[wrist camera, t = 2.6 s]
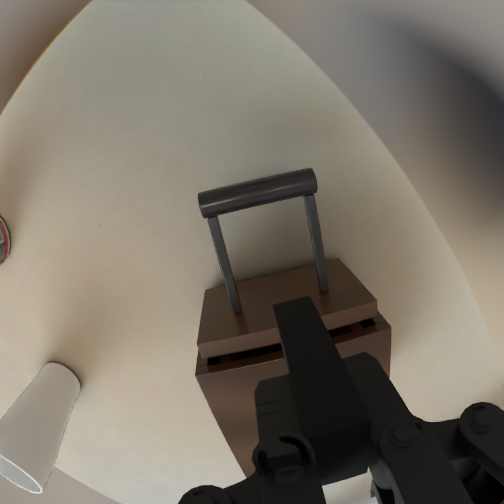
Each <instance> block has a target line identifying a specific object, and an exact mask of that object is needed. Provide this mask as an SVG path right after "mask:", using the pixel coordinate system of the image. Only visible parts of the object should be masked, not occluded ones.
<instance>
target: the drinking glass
mask: <svg viewBox="0 0 504 504" xmlns="http://www.w3.org/2000/svg"><path fill="white" fill-rule="evenodd" d="M79 394H80V383H79V381H78V379H77V377H76V376H75V375H74V374H73V373H72V372H71V371H70V370H69V369H68V368H66V367H65V366H63V365H61V364H58V363H48V364H46V365H44V366H43V367H42V369H41V370H40V372H39V373H38V375H37V376H36V377H35V378H34V379H33V381H32V382H31V383H30V384H29V385H28V387H27V388H26V389H25V390H24V391H23V392H22V394H21V395H20V396H19V397H18V398H17V400H16V401H15V402H14V403H13V404H12V406H11V407H10V408H9V409H8V411H7V412H6V413H5V414H4V416H3V417H2V418H1V419H0V474H1V475H2V476H4V477H5V478H6V479H8V480H9V481H10V482H12V483H14V484H15V485H17V486H19V487H21V488H23V489H25V490H27V491H30V492H33V493H42V492H43V491H44V488H45V486H46V484H47V482H48V479H49V477H50V475H51V473H52V470H53V467H54V465H55V462H56V459H57V456H58V452H59V449H60V446H61V443H62V439H63V436H64V433H65V430H66V427H67V424H68V421H69V418H70V415H71V413H72V410H73V407H74V404H75V402H76V400H77V398H78V396H79Z"/></svg>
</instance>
